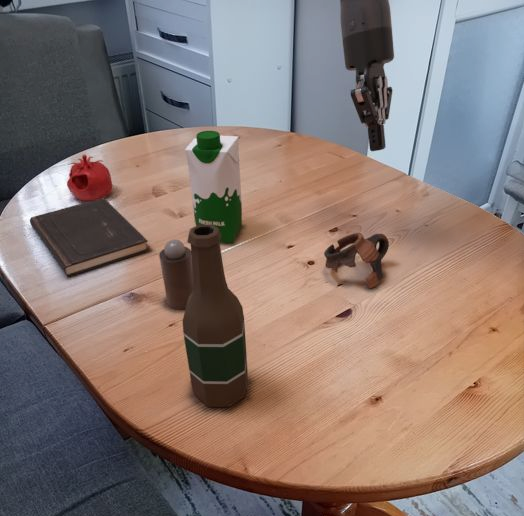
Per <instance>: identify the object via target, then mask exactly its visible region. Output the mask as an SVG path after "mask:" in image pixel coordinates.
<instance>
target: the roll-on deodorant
mask: <svg viewBox="0 0 524 516" xmlns="http://www.w3.org/2000/svg"><path fill="white" fill-rule="evenodd" d="M158 256H159V257H158V258H159V262H160V268H161V269H160V270H161V274H162V279H163V285H164V292H165V297H166V303H167V306H169V307H170V308H171V309H173V310H179V311H182V310H185V309H186V305H187V302H188V298H189V296H190V294H191V293H192V291H193V273H192V257H191V248H189V247H187V246H185V245H184V243H183V242H182V241H180V240H179V239H170V240H169V241H167V242H166V244H165V245H164V248H163V249H162V250H161V251H160V252H159V254H158Z"/></svg>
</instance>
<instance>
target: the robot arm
mask: <svg viewBox="0 0 524 516" xmlns="http://www.w3.org/2000/svg"><path fill="white" fill-rule="evenodd" d="M339 6H340V15H339V17H340V18H339V19H340V30H341V39H342V48H343V57H344V66H345V67H344V68H345V69H346V70H347V71H350V72H351V71H355V88H353V89H351V90H350V98H351V100H352V103H353V105H354V108H355V111H356V113H357V115H358V118H359V121H360V123H361V124H364V125H365V128H367V135H368V144H369V145H368V146H369V151H371V152H378V151H382V150H385V149H386V135H385V124H386V121H387V120H389V118H390V110H391V103H392V98H393V87H392V86H389V85H388V76H387V75H386V72H385V68H384V67H385V65H386V64H388V63H391V62H392V61H393V60H394V58H395V50H394V49H395V48H394V37H393V24H392V14H391V13H392V12H391V5H390V0H339Z"/></svg>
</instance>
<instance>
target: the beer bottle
mask: <svg viewBox="0 0 524 516" xmlns="http://www.w3.org/2000/svg"><path fill="white" fill-rule="evenodd" d="M220 240H221V233H220V231H219V229H218V228H217V227H215V226H213V225H198V226H196V225H195V226H193V227H191V228H190V229H189V232H188V235H187V243H188V244H189V245H190V250H191V257H192V273H193V291H192V293H191V294H190V296H189V298H188V302H187V305H186V309H184V313H183V317H182V334H183V340H184V345H185V352H186V358H187V365H188V371H189V377H190V383H191V388H192V393H193V395H194V396H195V397H196V398H197V399H198V400H200V401H201V403H203V404H204V405H206V407H208V408H229V407H231V406H232V405H234V404H236V403H237V402H239V401H240V400H242V399H243V398H245V397H246V395H247V387H248V356H247V342H246V340H247V339H246V325H245V316H244V315H245V314H244V309H243V308H244V307H243V306H242V303H241V301H240V300H239V298H238V296H236V294H235V293H234V292H232V290H231V289H230V288H229V287H228V283H227V280H226V279H227V278H226V275H225V269H224V263H223V257H222V250H221V243H219V242H220Z"/></svg>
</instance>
